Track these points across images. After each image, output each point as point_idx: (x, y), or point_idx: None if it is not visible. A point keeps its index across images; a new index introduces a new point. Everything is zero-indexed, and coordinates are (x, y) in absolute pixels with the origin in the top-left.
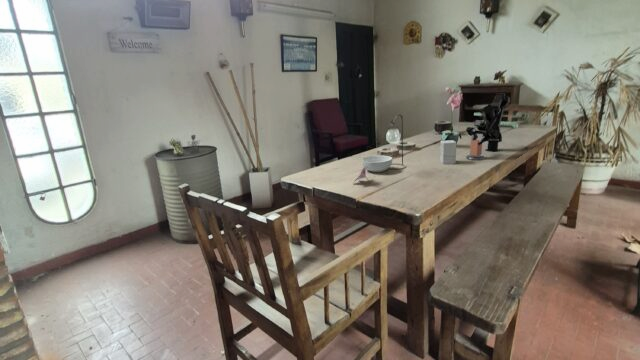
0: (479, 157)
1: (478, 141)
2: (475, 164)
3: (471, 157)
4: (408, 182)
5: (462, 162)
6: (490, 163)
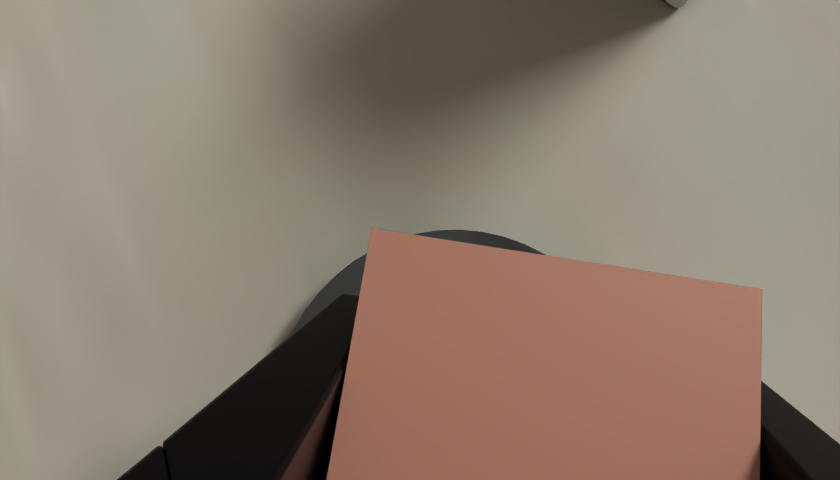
0: None
1: (366, 311)
2: (255, 7)
3: None
4: None
5: (483, 9)
6: (67, 198)
